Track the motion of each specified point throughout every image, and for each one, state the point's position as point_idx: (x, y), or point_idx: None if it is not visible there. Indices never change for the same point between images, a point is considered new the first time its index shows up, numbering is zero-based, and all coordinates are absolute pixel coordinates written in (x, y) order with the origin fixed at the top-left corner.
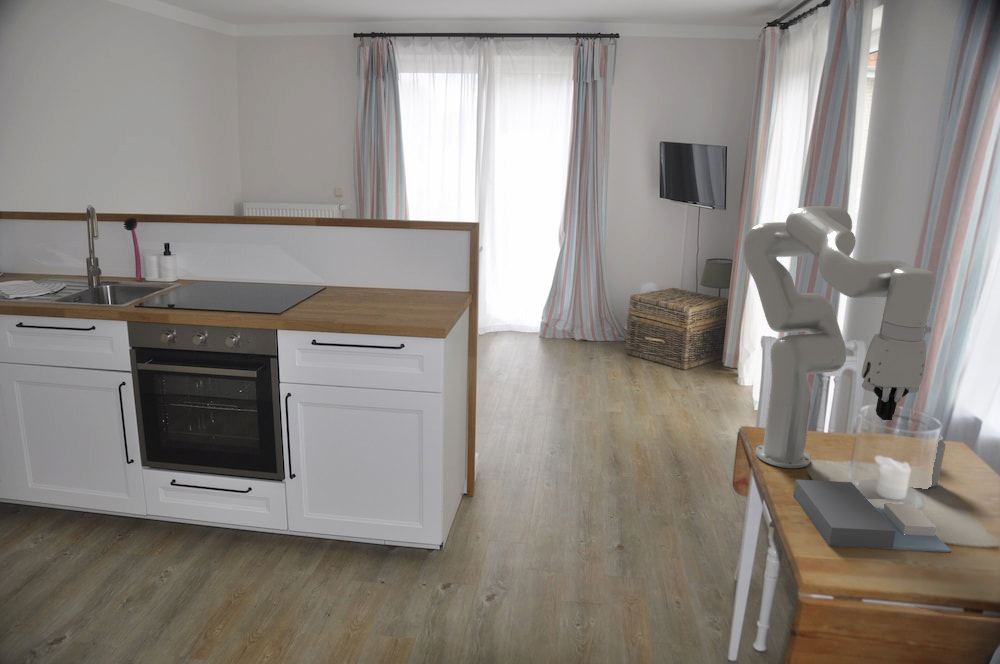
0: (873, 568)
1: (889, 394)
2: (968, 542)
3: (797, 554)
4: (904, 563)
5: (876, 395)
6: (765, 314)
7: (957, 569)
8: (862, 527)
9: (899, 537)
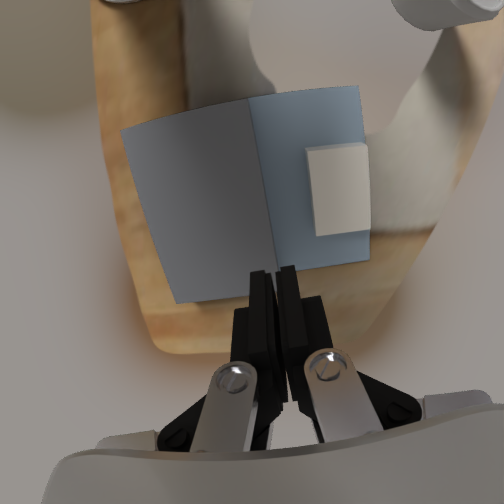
0: None
1: (305, 391)
2: (410, 221)
3: (143, 310)
4: None
5: (217, 371)
6: None
7: (353, 297)
8: (225, 294)
9: (301, 241)
